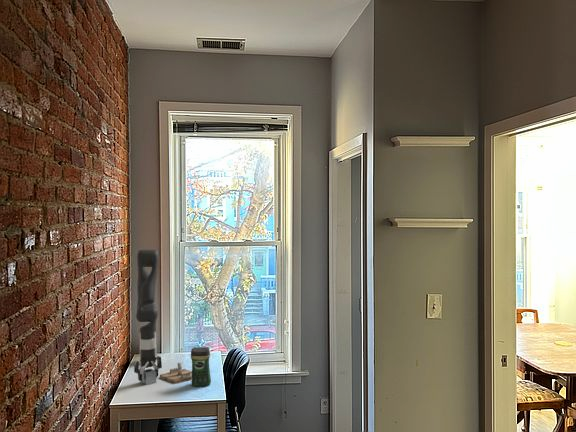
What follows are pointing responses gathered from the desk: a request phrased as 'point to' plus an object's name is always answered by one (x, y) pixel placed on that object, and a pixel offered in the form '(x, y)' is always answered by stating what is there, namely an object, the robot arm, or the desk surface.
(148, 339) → the robot arm
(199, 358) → the coffee jar
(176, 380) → the stand
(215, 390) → the desk surface
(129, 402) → the desk surface
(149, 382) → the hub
